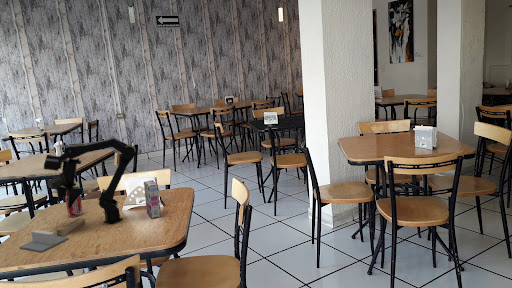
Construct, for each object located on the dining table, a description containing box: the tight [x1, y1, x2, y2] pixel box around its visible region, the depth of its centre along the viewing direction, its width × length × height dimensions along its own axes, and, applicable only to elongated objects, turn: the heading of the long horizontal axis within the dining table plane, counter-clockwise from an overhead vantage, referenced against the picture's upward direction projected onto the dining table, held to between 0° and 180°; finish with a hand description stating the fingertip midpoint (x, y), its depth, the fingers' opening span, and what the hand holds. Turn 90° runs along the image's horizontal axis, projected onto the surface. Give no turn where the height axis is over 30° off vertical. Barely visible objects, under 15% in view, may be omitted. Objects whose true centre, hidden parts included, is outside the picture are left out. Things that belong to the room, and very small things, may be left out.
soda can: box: [64, 194, 84, 218], centre depth 203 cm, size 7×7×12 cm
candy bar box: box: [143, 179, 162, 219], centre depth 193 cm, size 11×5×16 cm, turn 27°
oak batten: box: [55, 217, 86, 237], centre depth 183 cm, size 3×14×3 cm, turn 162°
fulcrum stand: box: [19, 229, 69, 254], centre depth 169 cm, size 14×13×5 cm
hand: (64, 204), depth 183 cm, fingers open, 9 cm apart
